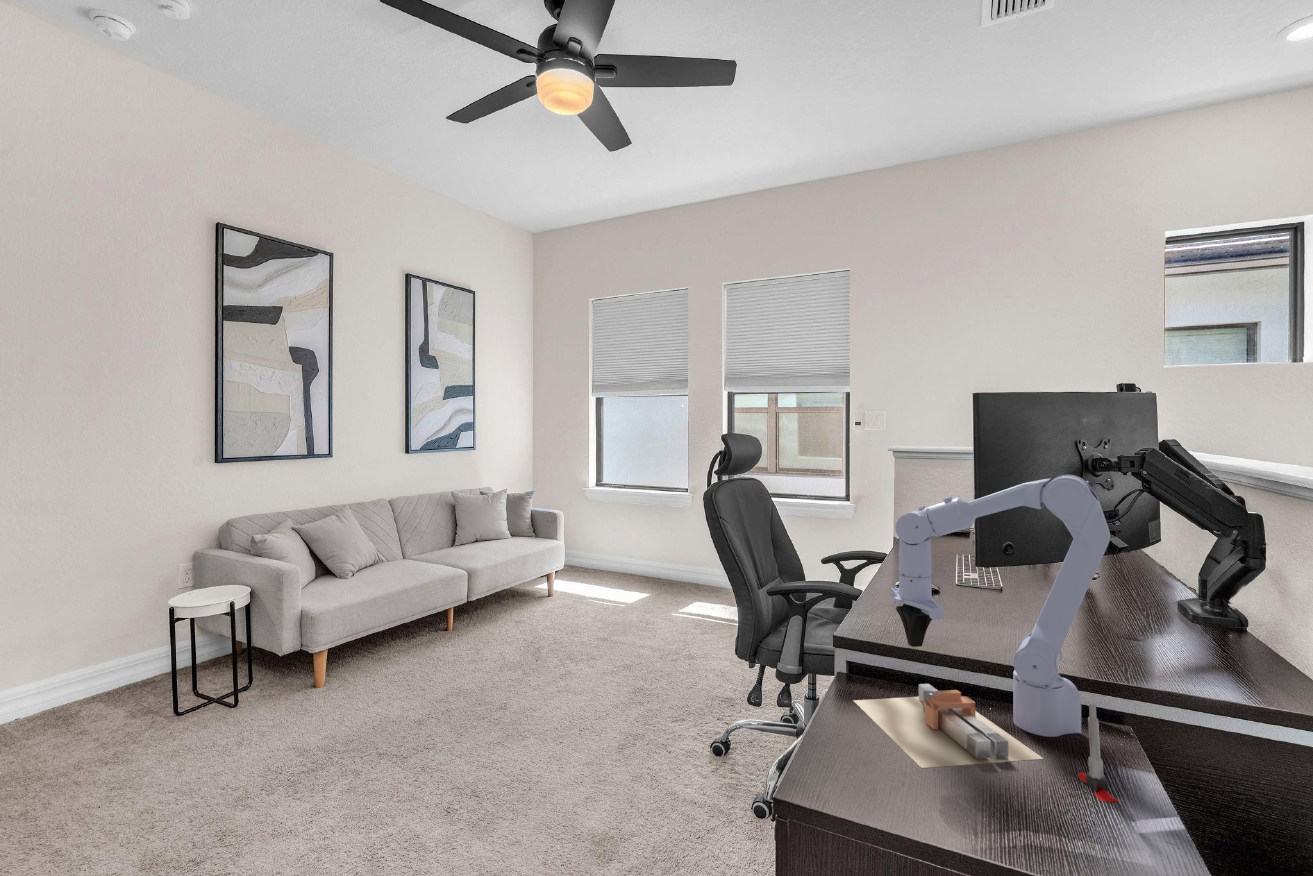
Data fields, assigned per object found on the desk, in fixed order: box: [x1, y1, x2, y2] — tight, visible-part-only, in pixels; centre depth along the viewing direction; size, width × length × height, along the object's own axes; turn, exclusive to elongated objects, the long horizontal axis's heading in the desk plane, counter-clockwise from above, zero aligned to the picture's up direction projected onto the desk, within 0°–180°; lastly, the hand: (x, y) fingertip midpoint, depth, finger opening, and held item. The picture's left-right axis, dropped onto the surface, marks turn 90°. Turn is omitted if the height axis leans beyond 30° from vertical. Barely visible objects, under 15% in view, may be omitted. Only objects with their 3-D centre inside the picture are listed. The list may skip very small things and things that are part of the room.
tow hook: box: [1077, 702, 1119, 803], centre depth 83 cm, size 8×13×9 cm
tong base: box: [918, 683, 1008, 760], centre depth 100 cm, size 4×21×3 cm, turn 7°
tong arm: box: [938, 709, 991, 759], centre depth 96 cm, size 2×14×3 cm, turn 6°
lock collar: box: [925, 689, 976, 729], centre depth 100 cm, size 8×2×5 cm, turn 97°
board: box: [852, 696, 1044, 769], centre depth 100 cm, size 20×22×1 cm
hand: (915, 645), depth 112 cm, fingers closed
